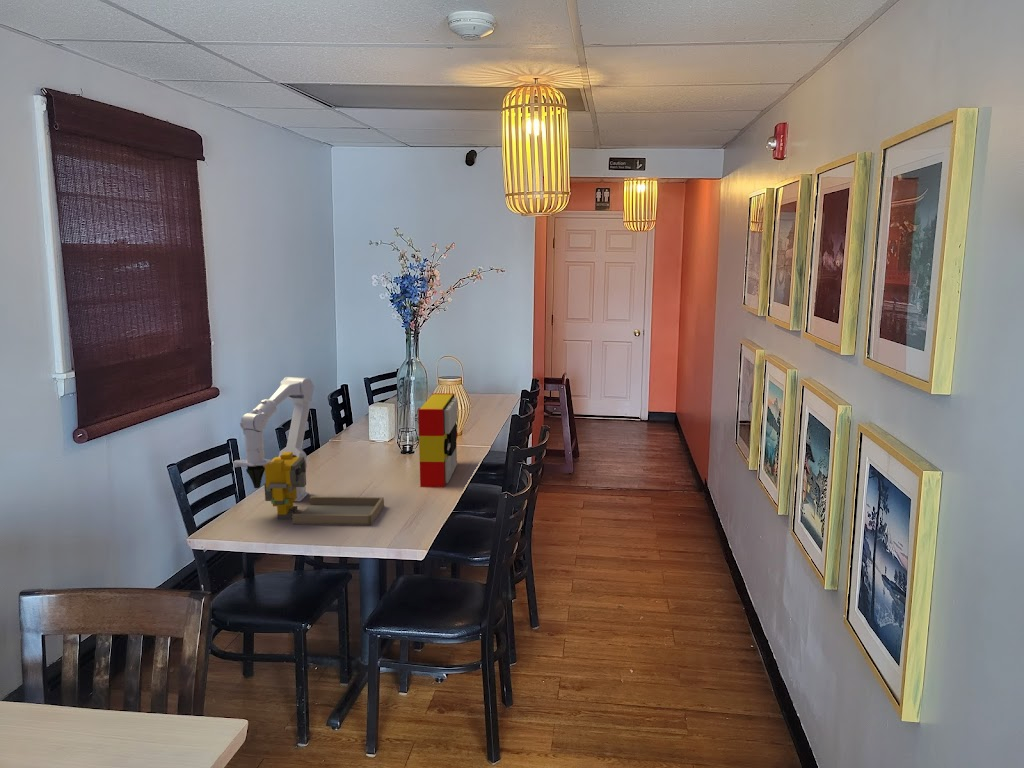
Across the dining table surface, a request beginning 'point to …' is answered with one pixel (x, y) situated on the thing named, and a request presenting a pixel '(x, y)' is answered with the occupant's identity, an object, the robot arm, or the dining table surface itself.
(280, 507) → the toy
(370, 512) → the tray
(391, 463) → the dining table surface
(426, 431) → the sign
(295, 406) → the robot arm
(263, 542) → the dining table surface
